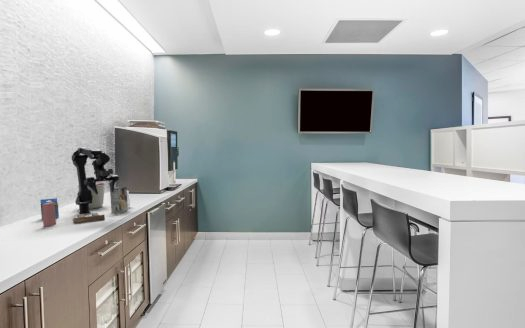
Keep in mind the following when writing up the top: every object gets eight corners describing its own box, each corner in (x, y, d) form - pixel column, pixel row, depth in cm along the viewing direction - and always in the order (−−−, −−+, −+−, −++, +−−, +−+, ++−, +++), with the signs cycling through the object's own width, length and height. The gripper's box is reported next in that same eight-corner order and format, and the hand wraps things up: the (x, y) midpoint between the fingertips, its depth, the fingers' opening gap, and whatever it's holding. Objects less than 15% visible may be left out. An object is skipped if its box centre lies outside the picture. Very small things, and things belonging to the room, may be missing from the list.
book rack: (72, 220, 199) (72, 214, 199) (102, 216, 208) (101, 211, 208) (73, 223, 190) (73, 218, 190) (104, 219, 198) (104, 214, 198)
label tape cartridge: (59, 216, 211) (58, 197, 210) (58, 218, 208) (57, 198, 207) (42, 218, 207) (41, 198, 207) (41, 219, 204) (40, 199, 203)
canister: (106, 204, 254) (105, 176, 253) (106, 208, 237) (105, 178, 236) (79, 207, 246) (77, 178, 245) (77, 211, 230) (75, 180, 228)
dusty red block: (50, 224, 190) (49, 202, 190) (55, 224, 190) (54, 202, 189) (43, 226, 184) (42, 204, 184) (48, 226, 184) (47, 204, 183)
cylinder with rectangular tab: (132, 206, 242) (132, 190, 241) (123, 209, 233) (123, 191, 232) (122, 206, 244) (122, 189, 244) (113, 208, 236) (112, 191, 235)
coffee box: (119, 210, 229) (118, 186, 228) (128, 210, 227) (126, 186, 226) (110, 213, 220) (109, 188, 219) (119, 213, 218) (118, 188, 217)
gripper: (88, 164, 191) (94, 190, 188) (119, 163, 205) (126, 187, 202) (81, 172, 198) (86, 197, 195) (112, 169, 212) (118, 193, 209)
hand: (105, 193), depth 200 cm, fingers open, 9 cm apart
